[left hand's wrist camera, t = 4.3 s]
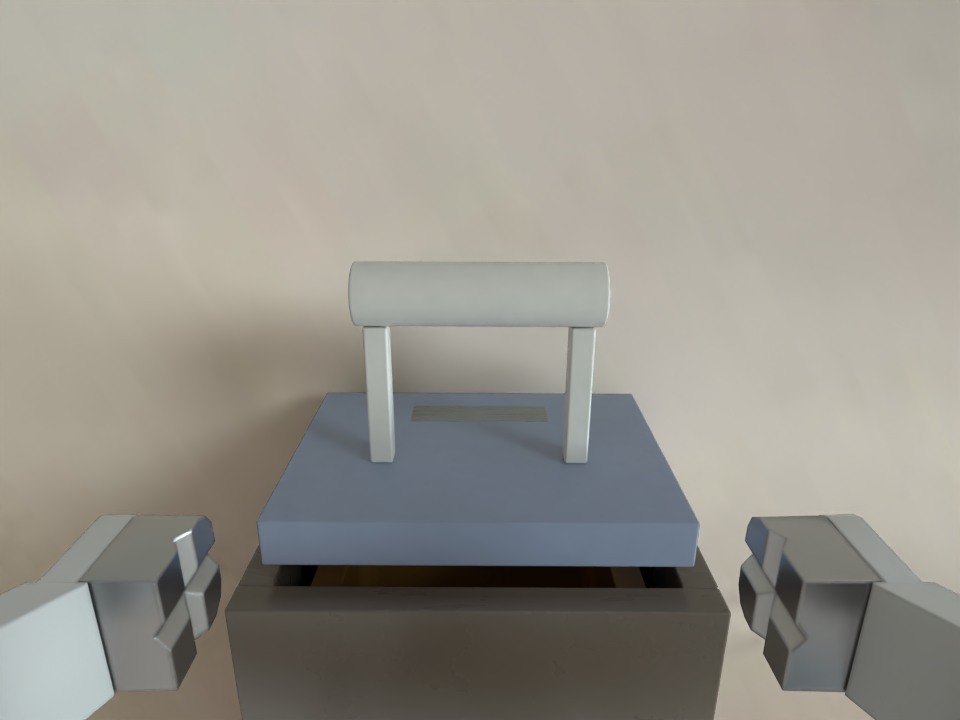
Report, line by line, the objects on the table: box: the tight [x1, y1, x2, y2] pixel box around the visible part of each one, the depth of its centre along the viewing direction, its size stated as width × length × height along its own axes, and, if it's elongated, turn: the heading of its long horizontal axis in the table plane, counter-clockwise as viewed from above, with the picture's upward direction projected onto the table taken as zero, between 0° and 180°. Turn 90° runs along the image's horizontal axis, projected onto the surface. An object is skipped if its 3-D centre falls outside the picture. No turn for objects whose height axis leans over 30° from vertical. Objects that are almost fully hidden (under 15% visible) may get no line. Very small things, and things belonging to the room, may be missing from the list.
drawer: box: [257, 262, 700, 588], centre depth 21 cm, size 22×10×8 cm, turn 0°
